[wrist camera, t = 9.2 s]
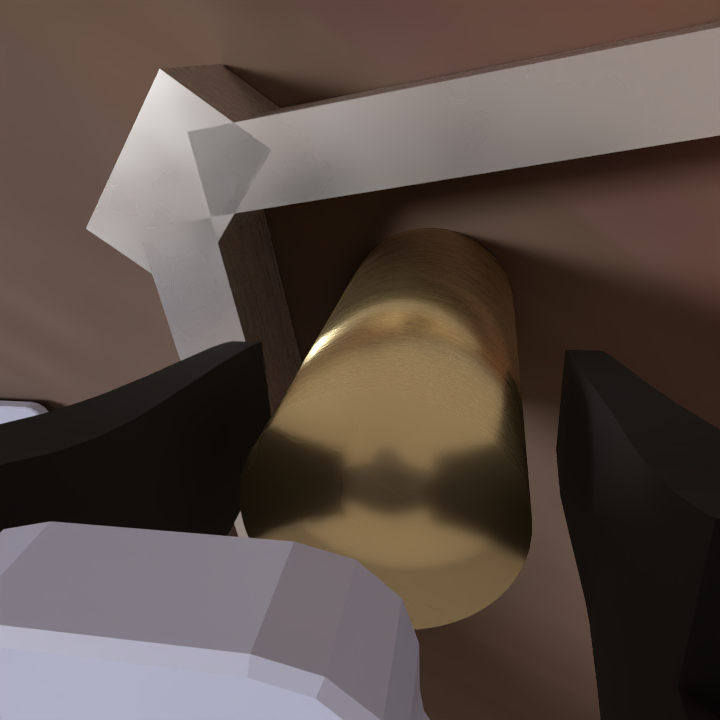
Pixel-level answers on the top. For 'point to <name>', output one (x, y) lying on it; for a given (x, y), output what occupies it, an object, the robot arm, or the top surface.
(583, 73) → the grey angled bracket
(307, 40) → the top surface
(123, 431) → the robot arm
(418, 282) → the brass axle
